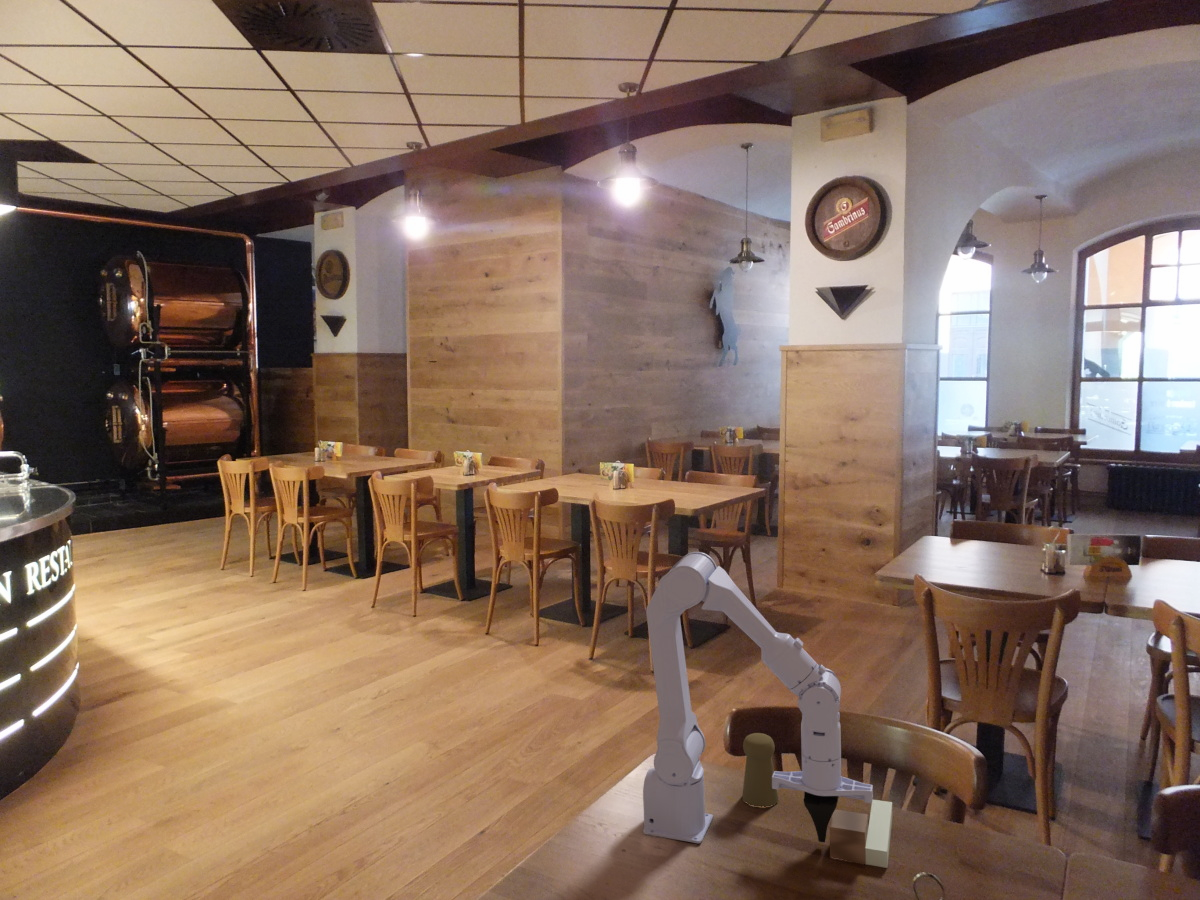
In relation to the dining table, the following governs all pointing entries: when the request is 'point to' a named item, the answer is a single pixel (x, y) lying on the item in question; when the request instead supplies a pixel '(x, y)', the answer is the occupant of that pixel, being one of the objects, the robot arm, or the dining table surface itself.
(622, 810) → the dining table surface
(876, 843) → the cream rectangular bar
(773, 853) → the dining table surface
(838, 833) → the walnut block
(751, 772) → the cork
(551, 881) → the dining table surface
